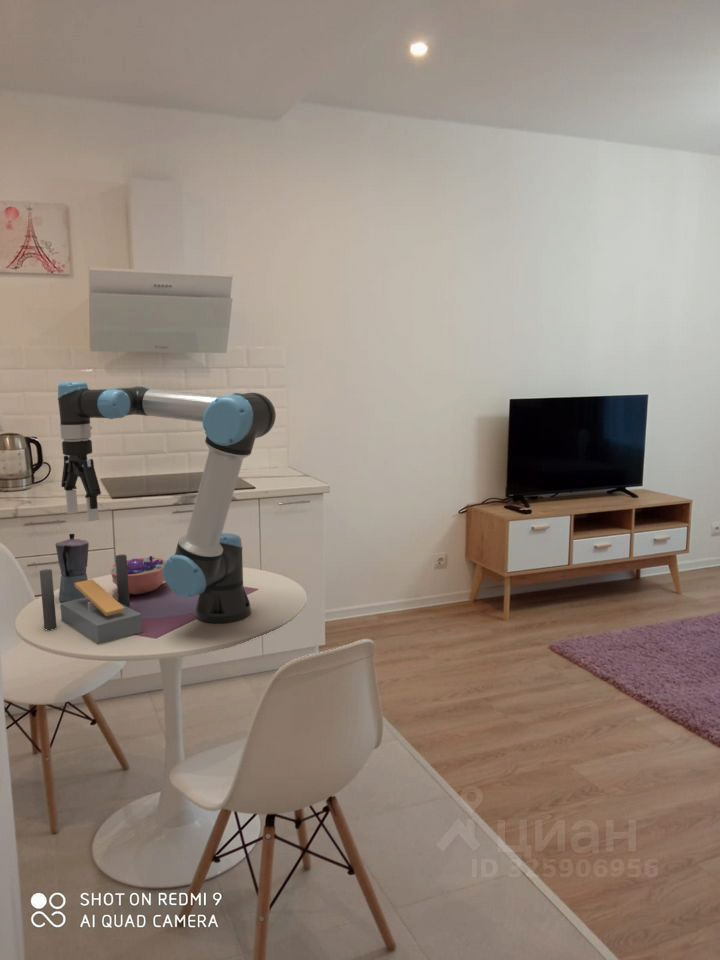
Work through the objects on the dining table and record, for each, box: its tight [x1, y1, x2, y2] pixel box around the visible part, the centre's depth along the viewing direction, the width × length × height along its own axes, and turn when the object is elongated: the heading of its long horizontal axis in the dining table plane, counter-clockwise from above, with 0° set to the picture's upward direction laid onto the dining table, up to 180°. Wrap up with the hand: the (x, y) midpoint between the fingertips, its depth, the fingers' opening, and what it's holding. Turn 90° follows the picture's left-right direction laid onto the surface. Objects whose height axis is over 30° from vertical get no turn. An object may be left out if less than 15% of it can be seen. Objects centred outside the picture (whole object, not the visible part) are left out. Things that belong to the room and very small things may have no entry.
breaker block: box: [59, 597, 143, 645], centre depth 202 cm, size 24×12×7 cm, turn 43°
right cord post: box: [115, 554, 131, 608], centre depth 214 cm, size 3×3×16 cm
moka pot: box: [55, 533, 90, 603], centre depth 223 cm, size 10×15×20 cm, turn 10°
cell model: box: [110, 555, 167, 596], centre depth 231 cm, size 17×20×11 cm
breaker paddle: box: [75, 578, 125, 616], centre depth 201 cm, size 20×5×1 cm, turn 43°
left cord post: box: [39, 568, 58, 631], centre depth 200 cm, size 3×3×16 cm
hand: (82, 516), depth 205 cm, fingers open, 13 cm apart
